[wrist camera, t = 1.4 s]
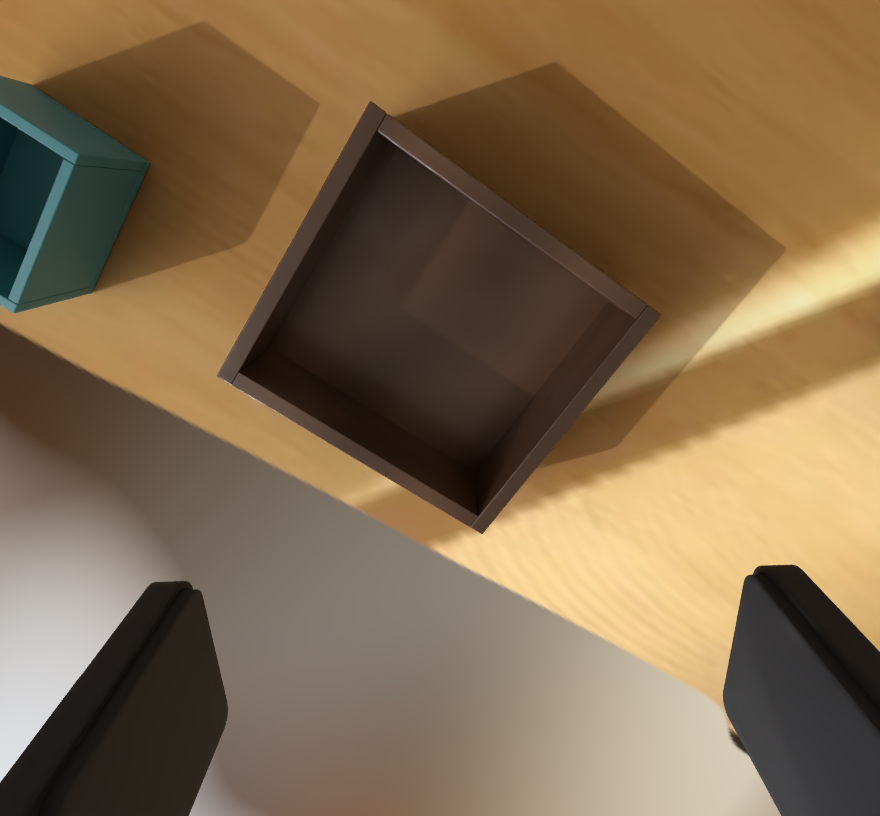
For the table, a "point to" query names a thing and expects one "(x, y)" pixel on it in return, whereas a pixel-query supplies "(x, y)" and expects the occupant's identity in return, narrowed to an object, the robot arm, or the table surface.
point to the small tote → (57, 198)
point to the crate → (432, 326)
